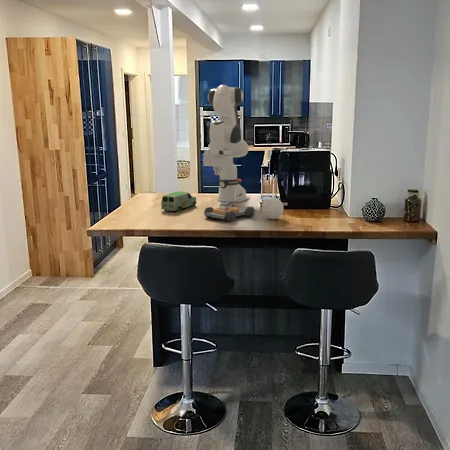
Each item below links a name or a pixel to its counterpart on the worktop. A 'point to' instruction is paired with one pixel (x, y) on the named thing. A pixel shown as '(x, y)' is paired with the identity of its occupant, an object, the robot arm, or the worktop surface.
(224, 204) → the grey wooden block
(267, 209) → the decorative ball
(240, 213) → the chassis
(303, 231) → the worktop surface
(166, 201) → the toy car
